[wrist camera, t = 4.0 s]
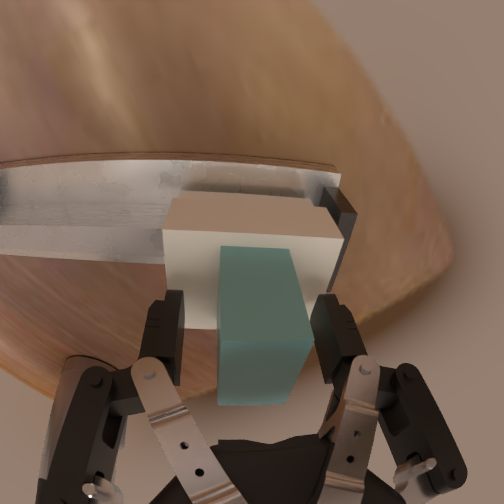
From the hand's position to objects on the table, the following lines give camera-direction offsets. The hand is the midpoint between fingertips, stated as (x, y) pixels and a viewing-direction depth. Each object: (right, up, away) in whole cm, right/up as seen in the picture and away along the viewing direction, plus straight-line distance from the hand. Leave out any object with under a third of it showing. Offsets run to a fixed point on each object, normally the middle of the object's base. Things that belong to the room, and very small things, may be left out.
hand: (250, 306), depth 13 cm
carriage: (-1, +4, +6) cm, 7 cm away
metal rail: (-9, +6, +6) cm, 12 cm away
